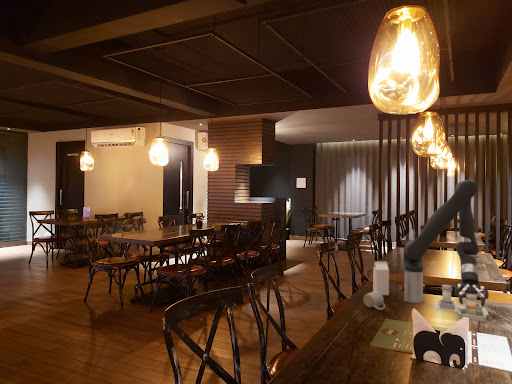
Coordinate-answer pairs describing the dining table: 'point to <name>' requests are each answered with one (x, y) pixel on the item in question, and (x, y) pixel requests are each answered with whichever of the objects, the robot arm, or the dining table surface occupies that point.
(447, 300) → the fuse
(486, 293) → the robot arm
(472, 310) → the ball
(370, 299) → the ceramic mug
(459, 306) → the fuse board
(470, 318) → the parts tray
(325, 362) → the dining table surface
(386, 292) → the milk carton
